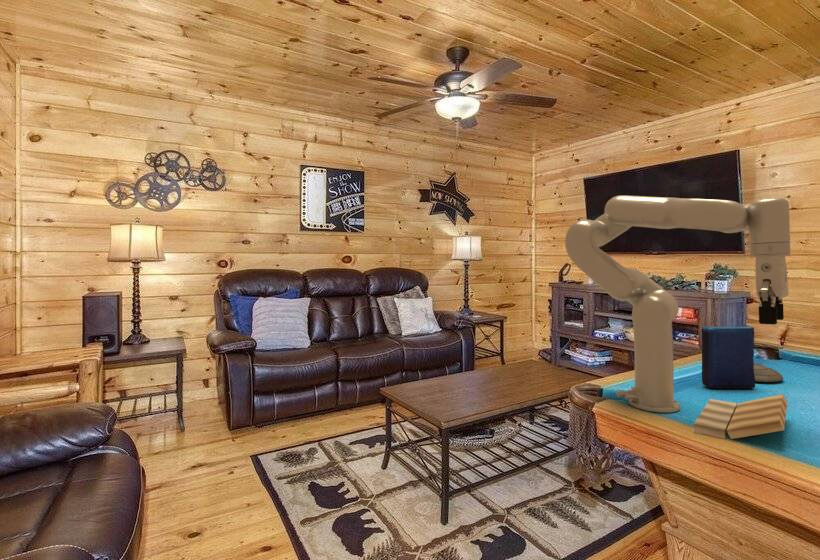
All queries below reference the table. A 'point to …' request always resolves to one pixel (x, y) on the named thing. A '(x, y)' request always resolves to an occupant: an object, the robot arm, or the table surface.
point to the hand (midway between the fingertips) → (771, 321)
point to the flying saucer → (766, 374)
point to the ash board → (715, 418)
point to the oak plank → (758, 417)
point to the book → (728, 356)
